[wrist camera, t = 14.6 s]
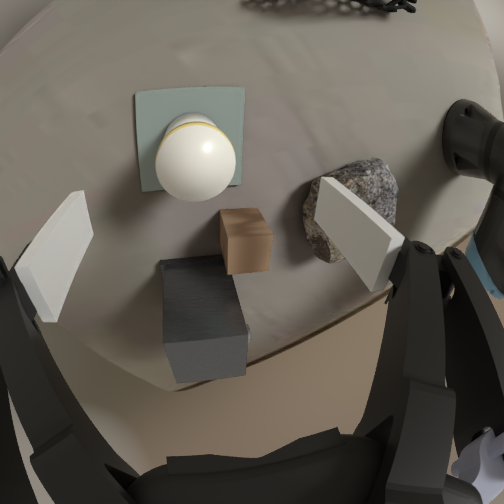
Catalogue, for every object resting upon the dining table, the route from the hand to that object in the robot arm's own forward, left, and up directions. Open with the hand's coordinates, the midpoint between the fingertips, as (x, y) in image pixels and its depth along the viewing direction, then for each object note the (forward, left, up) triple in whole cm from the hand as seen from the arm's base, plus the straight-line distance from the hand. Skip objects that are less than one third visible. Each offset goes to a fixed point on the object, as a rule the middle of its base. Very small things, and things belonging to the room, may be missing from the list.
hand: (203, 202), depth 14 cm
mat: (0, 0, -18) cm, 18 cm away
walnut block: (-6, +12, -18) cm, 23 cm away
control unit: (0, +21, -18) cm, 28 cm away
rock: (-21, +9, -19) cm, 30 cm away
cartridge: (0, 0, -18) cm, 18 cm away
